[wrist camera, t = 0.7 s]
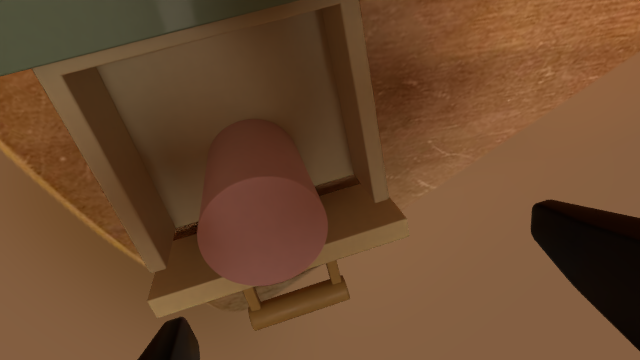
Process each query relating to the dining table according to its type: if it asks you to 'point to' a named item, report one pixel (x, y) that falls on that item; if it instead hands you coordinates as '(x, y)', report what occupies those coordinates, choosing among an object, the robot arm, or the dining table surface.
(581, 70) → the dining table surface
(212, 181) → the red cylinder
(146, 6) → the cabinet
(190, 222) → the drawer
